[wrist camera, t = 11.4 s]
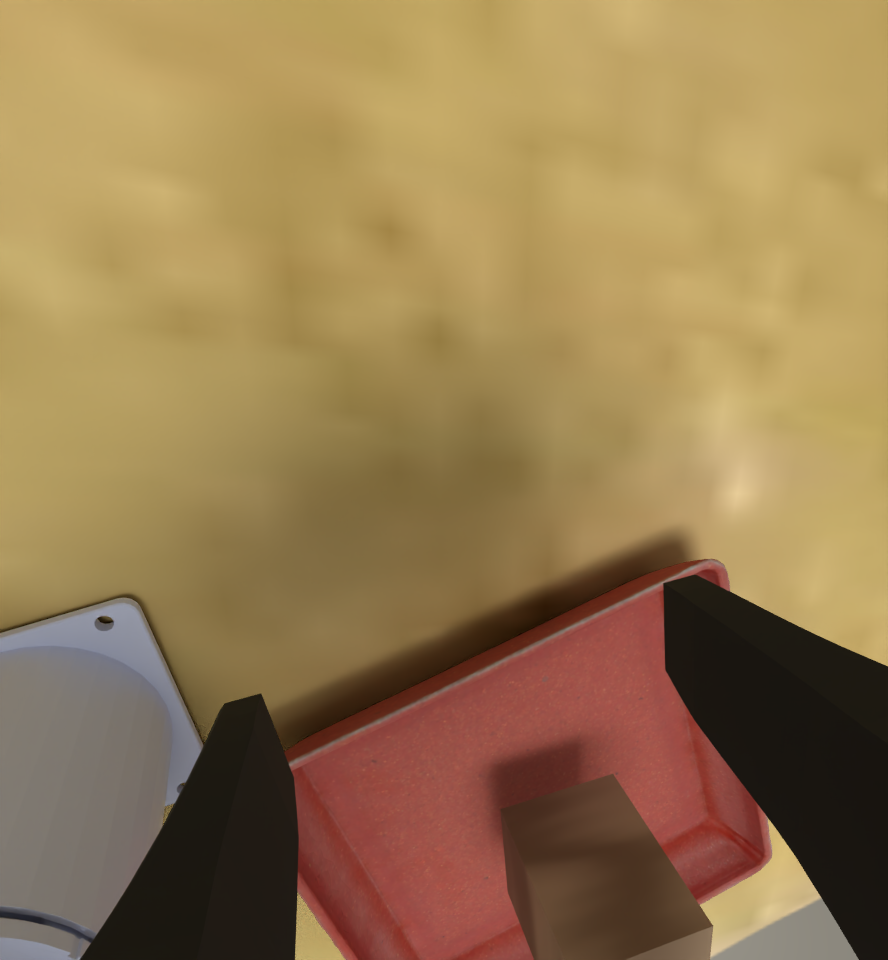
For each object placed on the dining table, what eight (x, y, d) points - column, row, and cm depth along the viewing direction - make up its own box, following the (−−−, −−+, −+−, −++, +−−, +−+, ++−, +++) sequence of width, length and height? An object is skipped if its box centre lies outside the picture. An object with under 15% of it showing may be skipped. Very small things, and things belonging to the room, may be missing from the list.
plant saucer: (673, 514, 26) (730, 554, 23) (731, 809, 34) (779, 867, 31) (227, 722, 24) (226, 795, 21) (401, 984, 32) (418, 1065, 29)
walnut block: (507, 891, 26) (576, 1068, 21) (500, 809, 24) (573, 979, 19) (612, 855, 27) (704, 1016, 22) (612, 773, 25) (713, 925, 20)
